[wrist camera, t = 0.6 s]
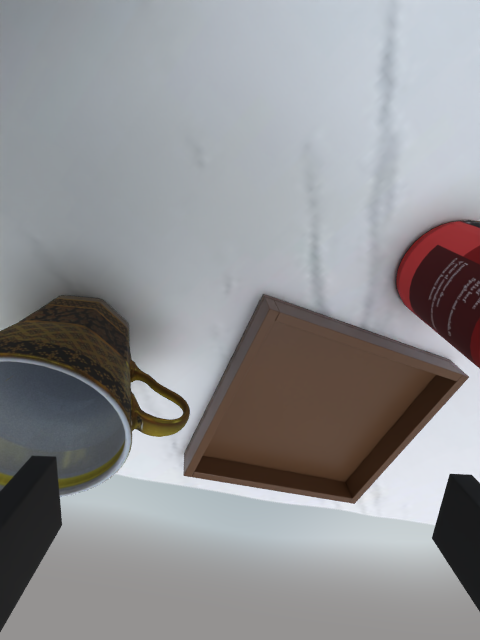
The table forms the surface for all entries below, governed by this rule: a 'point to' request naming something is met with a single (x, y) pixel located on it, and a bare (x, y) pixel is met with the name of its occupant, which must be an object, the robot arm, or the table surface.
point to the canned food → (446, 283)
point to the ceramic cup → (73, 393)
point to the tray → (316, 405)
